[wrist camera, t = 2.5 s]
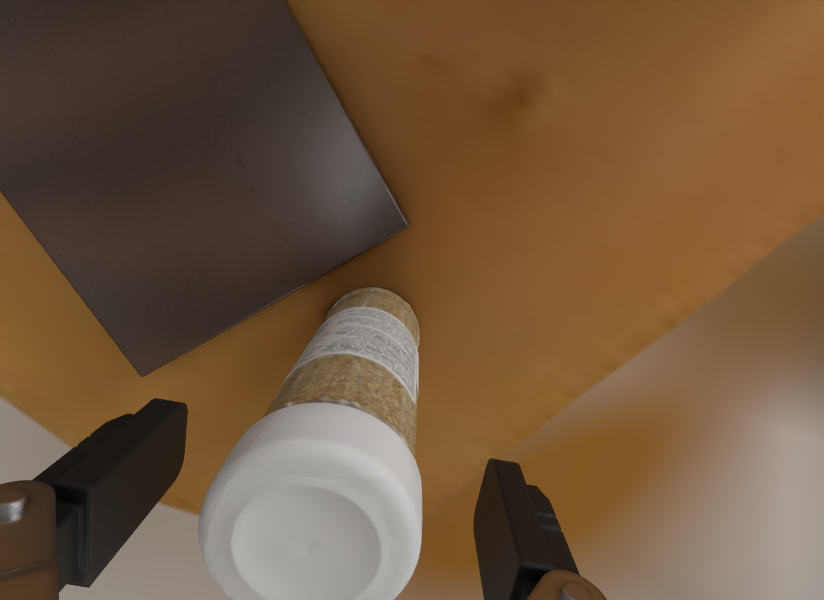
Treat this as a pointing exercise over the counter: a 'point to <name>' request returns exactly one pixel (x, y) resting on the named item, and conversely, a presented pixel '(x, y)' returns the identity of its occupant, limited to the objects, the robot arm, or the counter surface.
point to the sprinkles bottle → (327, 468)
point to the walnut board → (181, 161)
